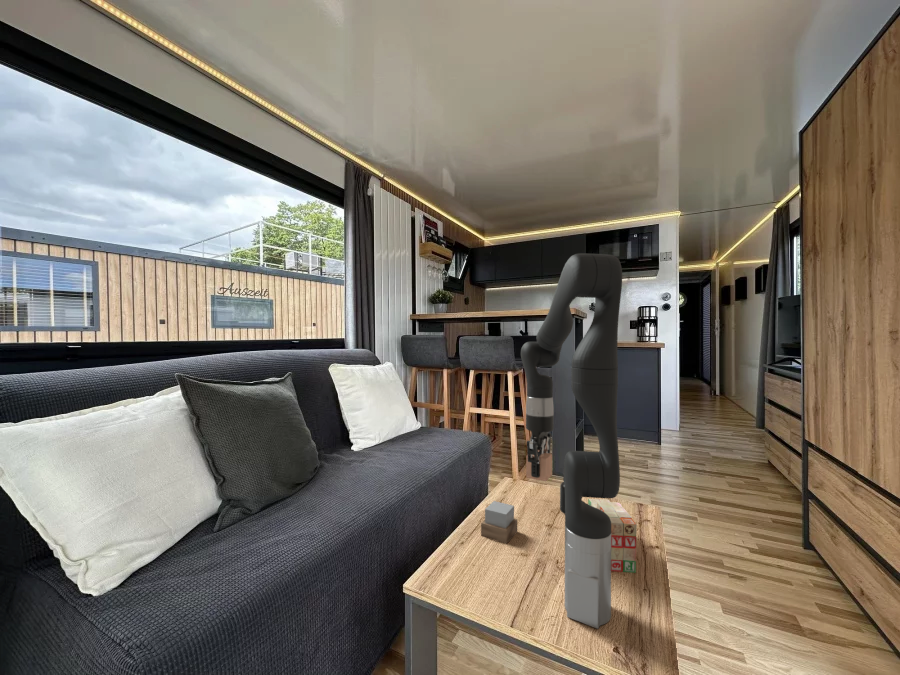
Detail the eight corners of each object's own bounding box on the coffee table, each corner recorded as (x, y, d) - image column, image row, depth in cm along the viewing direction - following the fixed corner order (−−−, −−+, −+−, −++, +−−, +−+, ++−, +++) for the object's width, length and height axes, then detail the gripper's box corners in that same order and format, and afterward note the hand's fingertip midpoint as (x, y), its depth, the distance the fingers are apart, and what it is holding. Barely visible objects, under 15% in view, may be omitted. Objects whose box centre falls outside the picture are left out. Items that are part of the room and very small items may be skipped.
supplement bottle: (562, 505, 130) (562, 470, 130) (582, 509, 127) (583, 474, 127) (558, 513, 124) (558, 476, 124) (579, 518, 121) (580, 480, 121)
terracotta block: (545, 481, 101) (545, 458, 101) (526, 477, 104) (526, 455, 104) (552, 475, 105) (552, 454, 105) (533, 471, 108) (533, 450, 108)
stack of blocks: (587, 528, 114) (588, 488, 114) (609, 530, 113) (609, 489, 113) (610, 571, 93) (610, 521, 93) (636, 573, 92) (637, 523, 92)
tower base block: (506, 544, 105) (506, 530, 105) (481, 536, 109) (481, 523, 109) (517, 532, 112) (517, 519, 112) (492, 525, 116) (493, 512, 116)
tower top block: (505, 528, 106) (505, 514, 106) (484, 522, 109) (485, 509, 109) (513, 519, 112) (514, 505, 112) (493, 514, 115) (493, 500, 115)
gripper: (544, 418, 97) (544, 484, 96) (560, 410, 109) (560, 469, 109) (517, 415, 101) (516, 478, 100) (535, 408, 113) (535, 464, 113)
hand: (539, 473), depth 105 cm, fingers closed on terracotta block, 5 cm apart
